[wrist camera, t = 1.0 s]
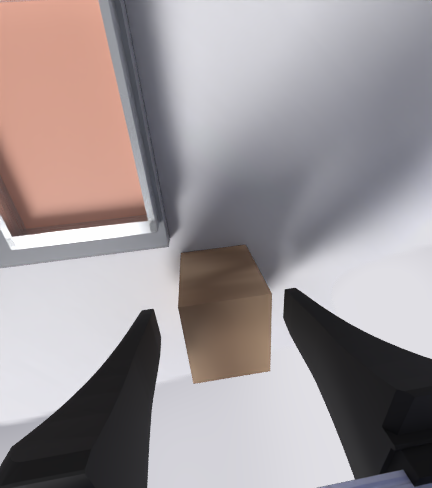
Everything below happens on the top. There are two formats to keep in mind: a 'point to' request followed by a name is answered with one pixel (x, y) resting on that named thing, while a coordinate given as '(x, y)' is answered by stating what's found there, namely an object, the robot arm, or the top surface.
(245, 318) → the block
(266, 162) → the top surface
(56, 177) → the chassis
